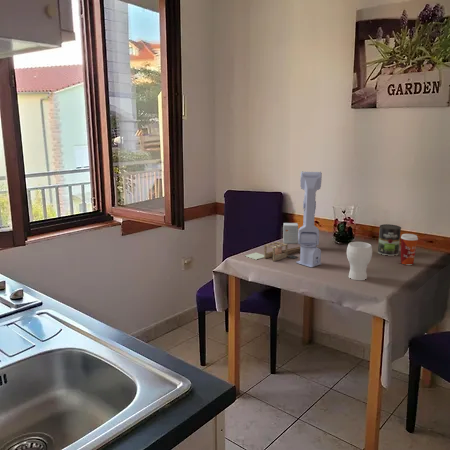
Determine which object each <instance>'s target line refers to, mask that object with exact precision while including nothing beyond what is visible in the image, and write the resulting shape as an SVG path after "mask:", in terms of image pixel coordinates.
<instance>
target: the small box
mask: <svg viewBox="0 0 450 450" xmlns="http://www.w3.org/2000/svg"><path fill="white" fill-rule="evenodd" d="M282 226H283V227H282V231H283V232H282V233H283V234H282V241H283V242H282V243H284V244H293V245H294V244H297V245H298V232H299V224H298V222H283V225H282Z"/></svg>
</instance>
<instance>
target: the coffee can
mask: <svg viewBox="0 0 450 450" xmlns="http://www.w3.org/2000/svg"><path fill="white" fill-rule="evenodd" d="M401 229H402V227H401V226H400V225H396V224H388V223H387V224H380V225H379V233H378V234H379V235H378V246H377V253H378V255H381V254H382V256H385V255H388V256H387V257H395V256H394V255H396V256H398V255H399V253H400V252H399V251H400V243H401V231H402V230H401Z"/></svg>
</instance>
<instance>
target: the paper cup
mask: <svg viewBox="0 0 450 450" xmlns="http://www.w3.org/2000/svg"><path fill="white" fill-rule="evenodd" d="M418 240H419V238H418V236H417V234H413V233H403V234H401V235H400V264H401V263H402V264H413V265H414V263H415V262H414V261H415V257H416V250H417V244H418ZM402 264H401V265H402Z"/></svg>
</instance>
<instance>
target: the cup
mask: <svg viewBox="0 0 450 450" xmlns="http://www.w3.org/2000/svg"><path fill="white" fill-rule="evenodd" d="M372 256H373V247H372V245H371V244H370V243H368V242H365V241H364V242H363V241H352V242H349V243H348V245H347V248H346V257H347V260H348V263H349V272H348V278H349V279H350V278H351V279H350V280H353V281H365V279H366V280H367V279H368V275H367V268H368V265H369V263H371V262H370V261H371V260H372Z"/></svg>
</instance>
